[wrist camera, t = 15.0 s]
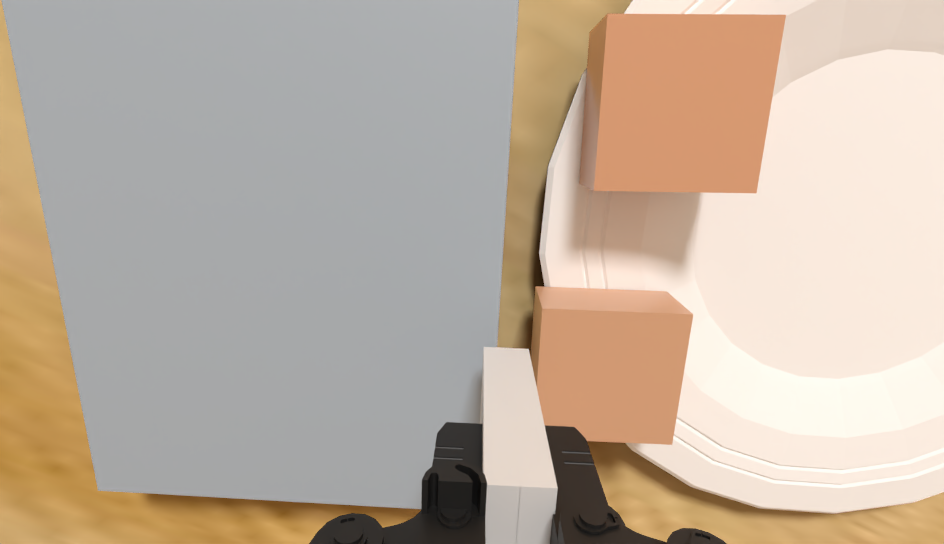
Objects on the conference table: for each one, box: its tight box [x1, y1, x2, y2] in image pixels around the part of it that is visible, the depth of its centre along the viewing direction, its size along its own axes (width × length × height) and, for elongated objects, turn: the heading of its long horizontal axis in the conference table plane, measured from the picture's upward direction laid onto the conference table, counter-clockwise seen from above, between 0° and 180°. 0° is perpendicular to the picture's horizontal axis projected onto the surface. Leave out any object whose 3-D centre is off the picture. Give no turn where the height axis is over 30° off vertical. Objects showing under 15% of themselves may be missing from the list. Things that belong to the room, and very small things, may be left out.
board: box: [2, 0, 519, 509], centre depth 18 cm, size 16×24×3 cm, turn 178°
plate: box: [539, 0, 944, 514], centre depth 19 cm, size 25×25×2 cm
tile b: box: [531, 286, 693, 445], centre depth 18 cm, size 5×5×2 cm
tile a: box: [579, 14, 786, 193], centre depth 16 cm, size 5×5×2 cm
